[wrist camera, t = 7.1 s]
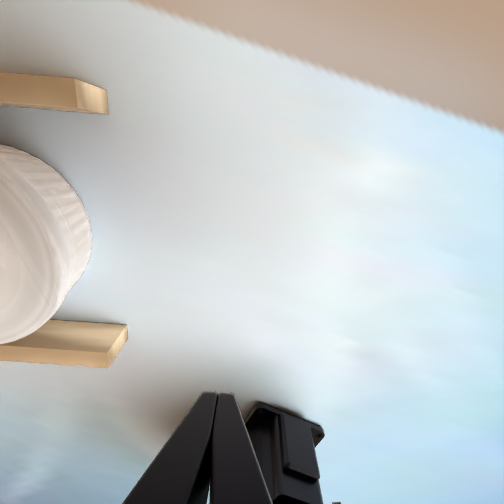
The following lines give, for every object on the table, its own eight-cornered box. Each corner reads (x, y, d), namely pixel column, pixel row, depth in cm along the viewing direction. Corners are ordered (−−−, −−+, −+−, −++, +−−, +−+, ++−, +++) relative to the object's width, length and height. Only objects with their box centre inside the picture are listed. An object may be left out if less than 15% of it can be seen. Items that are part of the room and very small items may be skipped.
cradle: (128, 338, 21) (108, 367, 19) (-46, 326, 21) (-92, 354, 18) (106, 90, 16) (74, 78, 13) (-131, 69, 15) (-217, 52, 13)
